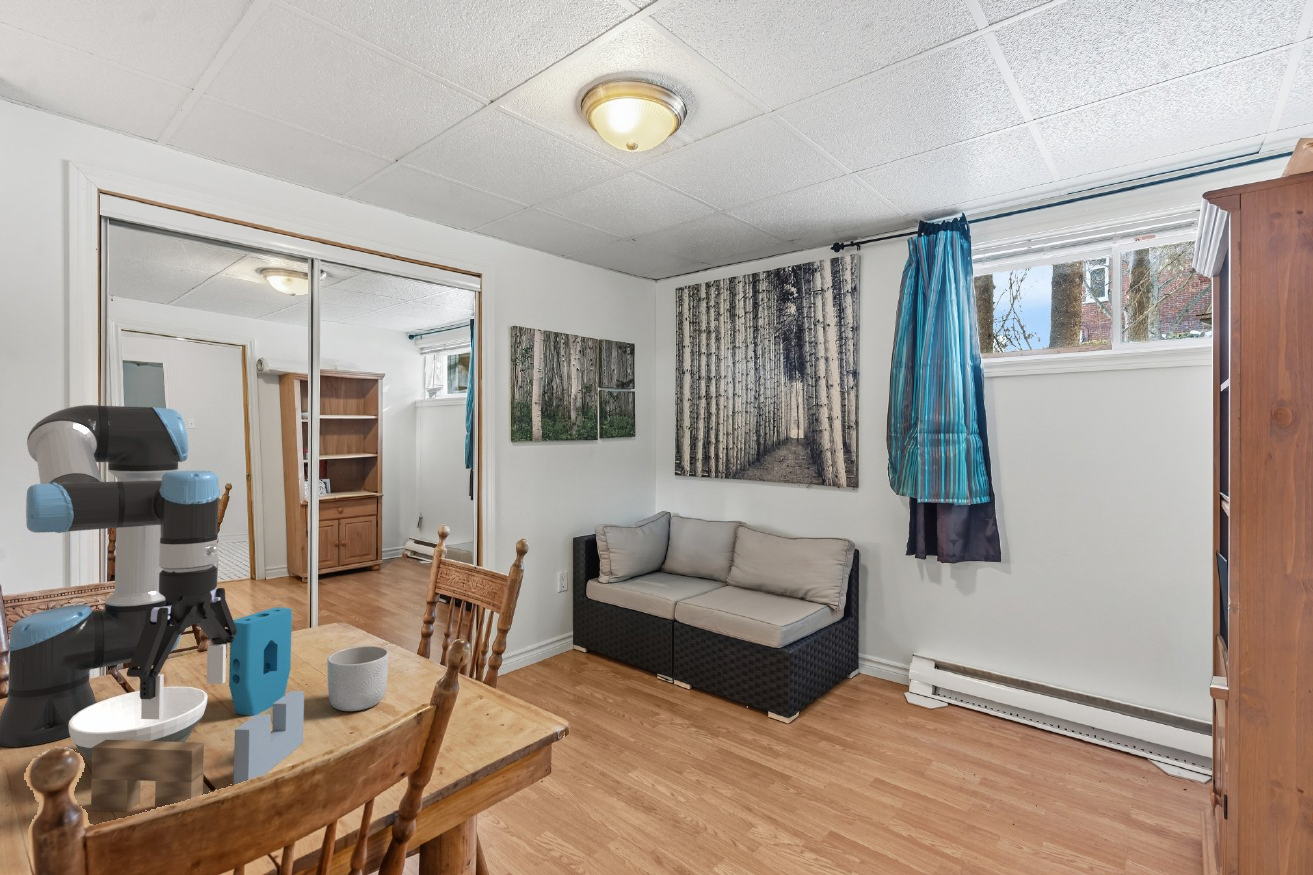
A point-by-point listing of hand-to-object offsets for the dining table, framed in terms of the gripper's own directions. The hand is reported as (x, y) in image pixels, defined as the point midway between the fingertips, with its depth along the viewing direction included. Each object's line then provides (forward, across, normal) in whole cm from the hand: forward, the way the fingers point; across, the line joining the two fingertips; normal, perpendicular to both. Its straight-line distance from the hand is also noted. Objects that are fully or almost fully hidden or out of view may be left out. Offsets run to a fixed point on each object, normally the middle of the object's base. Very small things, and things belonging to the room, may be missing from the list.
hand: (186, 699), depth 101 cm
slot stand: (+17, +13, -6) cm, 22 cm away
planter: (+17, +39, -9) cm, 44 cm away
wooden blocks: (+17, -1, +5) cm, 18 cm away
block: (+17, +36, +11) cm, 42 cm away
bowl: (+17, +13, +18) cm, 28 cm away
